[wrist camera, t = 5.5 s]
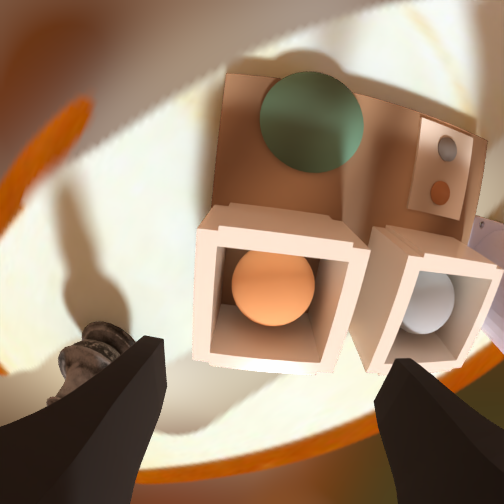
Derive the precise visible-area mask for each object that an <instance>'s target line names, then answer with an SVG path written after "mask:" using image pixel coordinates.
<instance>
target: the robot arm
mask: <svg viewBox="0 0 504 504" xmlns="http://www.w3.org/2000/svg"><path fill="white" fill-rule="evenodd" d="M480 222H481V226H480ZM467 246H468V247H470V248H472V249H473V250H475V251H476V252H478V253H479V254H481V255H483V256H484V257H486V258H487V259H489V260H490V261H492V262H493V263H495V264H496V265H498V266H499V267H501V268H502V269H503V270H504V224H503V223H500V222H497V221H494V220H490V219H487V218H484V217H480V216H477V215H475V218H474V222H473V226H472V230H471V234H470V238H469V241H468V245H467ZM481 330H482V331H483V332H484V333H485V334H486V335H487V336H488V337H489V338H490V339H491V341H492V342H493V343H494V344H495V345H496V346H497V347H498V348H499V349H500V351H501V352H502V353H503V354H504V272H503V275H502V278H501V281H500V284H499V286H498V289H497V292H496V294H495V297H494V299H493V302H492V304H491V307H490V309H489V311H488V314H487V316H486V318H485V321H484V323H483V325H482V327H481ZM166 381H167V380H166V367H165V353H164V339H161V338H155V337H150V336H145V335H144V336H143V337H142V338H140V339H139V340H138V341H137V342H135V343H134V344H133V345H132V346H131V347H129V348H128V349H127V350H126V351H125V352H123V353H122V354H121V355H120V356H119V357H117V358H116V359H115V360H114V361H113V362H111V363H110V364H109V365H107V366H106V367H105V368H104V369H102V370H101V371H100V372H98V373H97V374H96V375H95V376H93V377H92V378H91V379H89V380H88V381H86V382H85V383H83V384H82V385H81V386H79V387H78V388H76V389H75V390H73V391H72V392H70V393H69V394H67V395H66V396H64V397H62V398H61V399H59V400H58V401H56V402H54V403H52V404H50V405H49V406H47V407H45V408H43V409H41V410H39V411H37V412H35V413H33V414H31V415H28V416H26V417H24V418H21V419H19V420H17V421H14V422H12V423H10V424H7V425H4V426H1V427H0V504H130V501H131V497H132V492H133V488H134V484H135V480H136V477H137V474H138V471H139V468H140V465H141V462H142V460H143V457H144V454H145V452H146V449H147V447H148V444H149V442H150V439H151V436H152V434H153V431H154V429H155V426H156V423H157V421H158V418H159V416H160V413H161V409H162V405H163V401H164V397H165V393H166V389H167V382H166ZM374 406H375V412H376V418H377V423H378V428H379V432H380V435H381V438H382V441H383V445H384V448H385V451H386V454H387V457H388V461H389V464H390V467H391V471H392V474H393V478H394V482H395V486H396V491H397V499H398V504H504V429H502V428H500V427H499V426H497V425H496V424H494V423H493V422H491V421H489V420H488V419H486V418H485V417H484V416H482V415H481V414H479V413H478V412H477V411H475V410H474V409H473V408H471V407H470V406H469V405H468V404H466V403H465V402H464V401H463V400H461V399H460V398H459V397H458V396H456V395H455V394H454V393H453V392H452V391H450V390H449V389H448V388H447V387H446V386H445V385H443V384H442V383H441V382H440V381H439V380H438V379H436V378H435V377H434V376H433V375H432V374H430V373H429V372H428V371H427V370H426V369H424V368H423V367H422V366H421V365H419V364H418V363H417V362H415V361H414V360H413V359H411V358H395V360H394V362H393V364H392V367H391V369H390V371H389V373H388V375H387V377H386V379H385V381H384V383H383V385H382V387H381V389H380V391H379V392H378V394H377V396H376V398H375V400H374Z"/></svg>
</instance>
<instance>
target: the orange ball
mask: <svg viewBox="0 0 504 504" xmlns="http://www.w3.org/2000/svg"><path fill="white" fill-rule="evenodd" d="M314 290H315V280H314V275H313V271H312V269H311V266H310V265H309V263H308V261H307V260H306V259H305V258H304V257H303V256H295V255H287V254H278V253H270V252H262V251H253V250H250V251H249V252H247V253H246V254H245V255H244V256H243V257H242V258H241V259H240V261H239V262H238V264H237V266H236V268H235V270H234V273H233V276H232V294H233V297H234V300H235V303H236V305H237V306H238V308H239V309H240V311H241V312H242V313H243V314H244V315H245V316H246V317H247V318H249V319H250V320H252V321H253V322H255V323H258V324H260V325H264V326H282V325H285V324H288V323H291V322H293V321H295V320H296V319H298V318H299V317H300V316H301V315H302V314H303V313H304V312H305V311H306V310H307V308H308V307H309V305H310V303H311V301H312V298H313V295H314Z"/></svg>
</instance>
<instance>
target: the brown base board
mask: <svg viewBox="0 0 504 504" xmlns="http://www.w3.org/2000/svg"><path fill="white" fill-rule="evenodd" d="M486 150H487V140H485V139H483V138H481V137H479V136H477V135H475V134H472V133H470V132H468V131H466V130H463V129H461V128H459V127H456V126H454V125H452V124H449V123H447V122H444V121H442V120H439V119H437V118H434V117H431V116H429V115H426V114H423V113H420V112H418V111H415V110H412V109H409V108H406V107H403V106H400V105H396V104H393V103H390V102H387V101H383V100H380V99H376V98H373V97H369V96H365V95H361V94H357V93H353V92H351V91H350V90H349V89H348V88H347V87H346V86H345V85H344V84H343V83H341V82H340V81H339V80H337V79H335V78H333V77H331V76H329V75H326V74H322V73H318V72H300V73H295V74H292V75H289V76H287V77H285V78H283V79H279V78H272V77H264V76H254V75H244V74H231V73H226V80H225V88H224V95H223V103H222V111H221V119H220V128H219V136H218V145H217V155H216V164H215V174H214V184H213V195H212V206H211V209H212V207H213V206H214V205H222V206H229V204H230V203H239V204H248V205H256V206H264V207H272V208H280V209H287V210H295V211H302V212H309V213H316V214H323V215H329V216H330V217H331V218H332V220H338V221H343V222H344V223H345V224H346V225H347V226H348V227H349V228H350V229H351V230H352V231H353V232H354V233H355V234H356V235H357V236H358V237H359V238H360V239H361V240H362V241H363V242H364V243H365V245H366V246H367V247H368V244H369V240H370V236H371V231H372V227H373V226H375V227H381V228H385V227H386V225H391V226H396V227H402V228H407V229H413V230H418V231H423V232H428V233H434V234H439V235H444V236H448V237H453V238H455V239H457V240H458V241H460V242H462V243H463V244H465V245H468V241H469V238H470V234H471V230H472V226H473V222H474V218H475V213H476V209H477V205H478V200H479V195H480V189H481V184H482V178H483V172H484V165H485V158H486ZM249 251H250V250H245V249H237V248H228V247H226V253H225V264H224V275H223V287H222V299H221V304H226V305H234V306H237V305H236V303H235V300H234V297H233V294H232V276H233V273H234V270H235V268H236V266H237V264H238V262H239V261H240V259H241V258H242V257H243V256H244V255H245V254H246V253H247V252H249ZM304 258H305V259H306V260H307V261H308V263H309V265H310V266H311V269H312V271H313V275H314V280H316V276H317V271H318V266H319V262H320V258H312V257H304ZM309 307H310V305H309ZM309 307H308V308H307V310H306V311H305V312H304V313H308V311H309Z"/></svg>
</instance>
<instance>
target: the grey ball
mask: <svg viewBox="0 0 504 504" xmlns="http://www.w3.org/2000/svg"><path fill="white" fill-rule="evenodd" d="M454 301H455V294H454V288H453V285H452V282H451V280H450V278H449V277H448V276H447V274H443V273H435V272H427V271H419V274H418V277H417V281H416V284H415V287H414V290H413V293H412V295H411V298H410V301H409V304H408V307H407V309H406V312H405V315H404V317H403V320H402V323H401V325H400V328H402V329H403V330H404V331H406V332H409V333H412V334H416V335H424V334H429V333H432V332H434V331H436V330H437V329H439V328H440V327H441V326H443V325H444V324H445V322H446V321H447V320H448V318H449V317H450V315H451V313H452V310H453V307H454Z"/></svg>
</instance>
